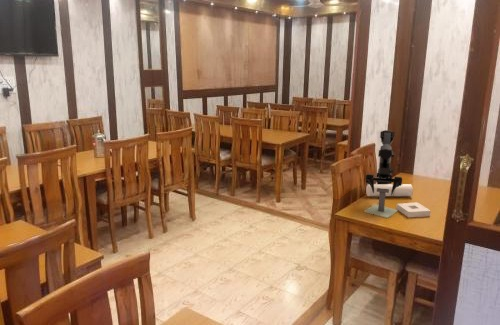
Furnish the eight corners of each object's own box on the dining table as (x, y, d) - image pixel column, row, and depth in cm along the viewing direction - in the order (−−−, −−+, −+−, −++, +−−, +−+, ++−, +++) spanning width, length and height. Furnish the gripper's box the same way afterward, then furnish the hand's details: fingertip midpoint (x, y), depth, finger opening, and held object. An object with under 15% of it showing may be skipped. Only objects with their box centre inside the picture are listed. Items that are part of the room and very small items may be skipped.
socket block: (396, 208, 210) (396, 203, 209) (416, 207, 211) (417, 202, 211) (408, 217, 198) (408, 212, 197) (429, 216, 200) (430, 210, 199)
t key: (375, 208, 208) (377, 187, 205) (387, 210, 206) (388, 188, 203) (375, 210, 206) (376, 189, 203) (386, 212, 204) (388, 190, 201)
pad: (363, 212, 206) (364, 210, 206) (374, 205, 215) (374, 204, 215) (387, 218, 197) (387, 217, 197) (397, 211, 207) (398, 210, 206)
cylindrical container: (407, 185, 233) (365, 185, 233) (412, 182, 226) (369, 183, 226) (408, 197, 231) (366, 197, 231) (413, 195, 224) (370, 195, 224)
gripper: (367, 159, 211) (364, 185, 204) (403, 162, 205) (402, 189, 198) (366, 169, 220) (364, 194, 213) (402, 172, 214) (400, 198, 207)
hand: (382, 193), depth 207 cm, fingers open, 9 cm apart
